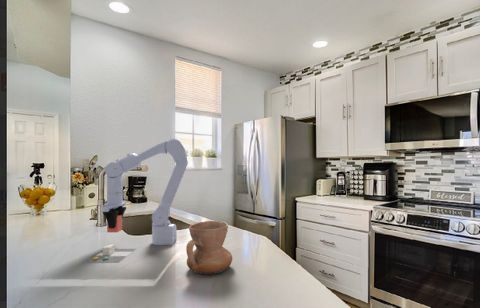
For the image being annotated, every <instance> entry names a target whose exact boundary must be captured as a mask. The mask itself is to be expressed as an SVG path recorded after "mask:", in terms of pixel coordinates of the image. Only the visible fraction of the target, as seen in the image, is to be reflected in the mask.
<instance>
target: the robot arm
mask: <svg viewBox="0 0 480 308" xmlns="http://www.w3.org/2000/svg"><path fill="white" fill-rule="evenodd" d="M160 154H166V155H167V154H169V155H170V156H171V157H172V160H174V163H175V166H174V168H173V171H172V173H171V176H170V178H169V180H168V183H167V185H166V188H165V191H164V192H163V195H162V198H161V200H160V202H159V204H158V206H157V207H156V209H155V210H154V211H153V213H152V215H151V222H152V223H151V228H152V229H151V238H152V239H151V243H152V245H153V246H164V245H166V246H167V245H171V246H173V245H174V244H175V243H176V242H177V241H178V239H177V236H178V235H177V233H178V232H177V225H176V224H175V223H171V221H170V220H169V218H170V215H171V212H170V211H171V206H172V203H173V201H174V198H175V197H176V194H177V191H178V189H179V187H180V184H181V182H182V178H183V177H184V174H185V171H186V169H187V167H188V163H189V161H188V158H187V154H186V149H185V147H184V145H183V144H182V142H181V141H180V140H179V139H176V138H171V139H169V140H168V141H167V140H166V141H163V142H160V143H158V144H156V145H153V146H152V147H150V148H148V149H146V150H145V151H142V152H140V153H138V154H136V153H134V152H133V153H127V154H126V156H125V157H122V158H120V159H119V158H118V159H115V162H114V161H110V162H109V163H108V164H107V165H106V166H105V167H104V172H105V173H104V174H105V175H106V203H104V204H103V206H102V214H103V216H104V217H105V220H106V222H108V226H109V228H115V226H116V218H117V215H122V219H123V217H124V215H125V212H126V210H127V207H126V206H127V203H126V202H127V201H126V200H123V199H124V198H123V194H124V193H123V175H124V174H125V173H128V172H130V171H132V170H134V169H137V168H138V167H140V166H141V164H142V162H143V161H146V160H148V159H150V158H152V157H155V156H157V155H160Z"/></svg>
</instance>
